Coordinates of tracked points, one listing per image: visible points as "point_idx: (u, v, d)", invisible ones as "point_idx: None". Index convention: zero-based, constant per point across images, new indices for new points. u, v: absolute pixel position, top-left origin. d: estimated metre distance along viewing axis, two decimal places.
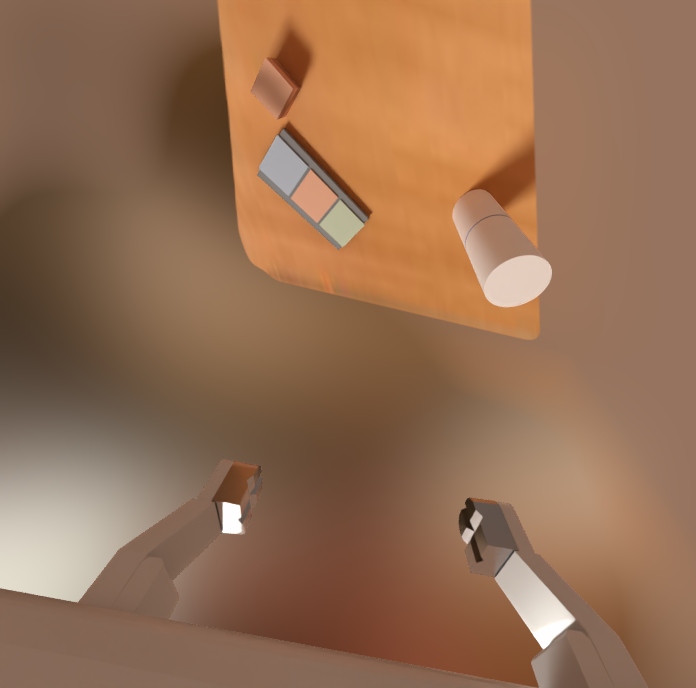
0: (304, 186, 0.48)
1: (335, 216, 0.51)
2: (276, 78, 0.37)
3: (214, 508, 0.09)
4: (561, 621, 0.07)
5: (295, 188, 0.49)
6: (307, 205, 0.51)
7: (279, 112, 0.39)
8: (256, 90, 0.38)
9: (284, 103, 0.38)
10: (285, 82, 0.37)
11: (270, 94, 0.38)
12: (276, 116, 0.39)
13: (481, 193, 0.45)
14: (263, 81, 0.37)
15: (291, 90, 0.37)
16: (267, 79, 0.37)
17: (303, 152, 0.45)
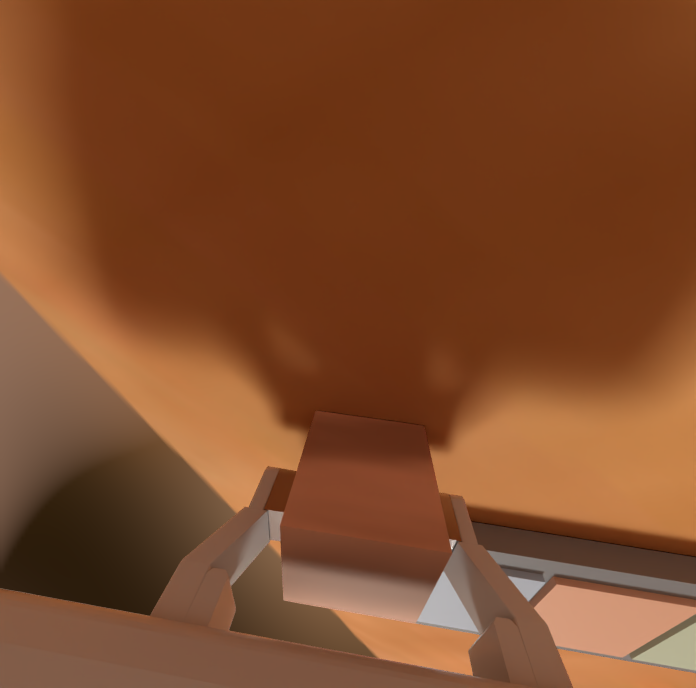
0: (546, 613, 0.14)
1: None
2: (356, 552, 0.07)
3: (266, 517, 0.09)
4: (495, 610, 0.07)
5: None
6: (571, 638, 0.14)
7: (417, 608, 0.08)
8: (301, 594, 0.09)
9: (427, 588, 0.08)
10: (404, 549, 0.07)
11: (356, 589, 0.08)
12: (410, 619, 0.09)
13: None
14: (312, 572, 0.08)
15: (445, 557, 0.07)
16: (322, 565, 0.08)
17: (509, 556, 0.12)
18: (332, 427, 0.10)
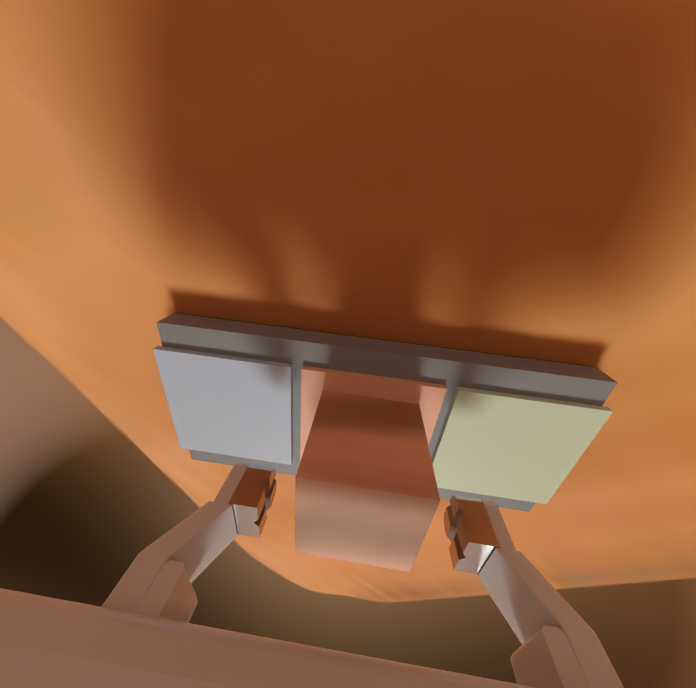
0: None
1: (468, 442, 0.13)
2: (359, 502, 0.08)
3: (231, 511, 0.09)
4: (539, 617, 0.07)
5: (296, 436, 0.14)
6: None
7: (411, 557, 0.10)
8: (310, 545, 0.10)
9: (420, 536, 0.09)
10: (400, 497, 0.08)
11: (359, 537, 0.09)
12: (405, 567, 0.10)
13: None
14: (321, 523, 0.09)
15: (434, 504, 0.08)
16: (329, 515, 0.09)
17: (251, 338, 0.12)
18: (337, 404, 0.11)
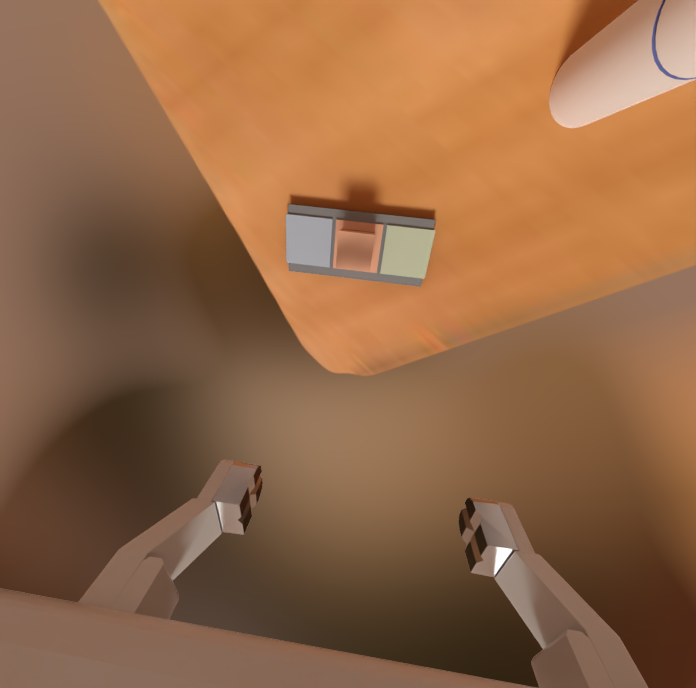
0: None
1: (393, 248, 0.37)
2: (354, 239, 0.33)
3: (214, 508, 0.09)
4: (561, 621, 0.07)
5: (332, 253, 0.38)
6: None
7: (369, 264, 0.34)
8: (340, 262, 0.34)
9: (371, 253, 0.33)
10: (365, 235, 0.32)
11: (354, 256, 0.33)
12: (368, 269, 0.34)
13: (589, 40, 0.26)
14: (344, 250, 0.33)
15: (373, 237, 0.32)
16: (346, 246, 0.33)
17: (319, 209, 0.36)
18: (348, 229, 0.35)
